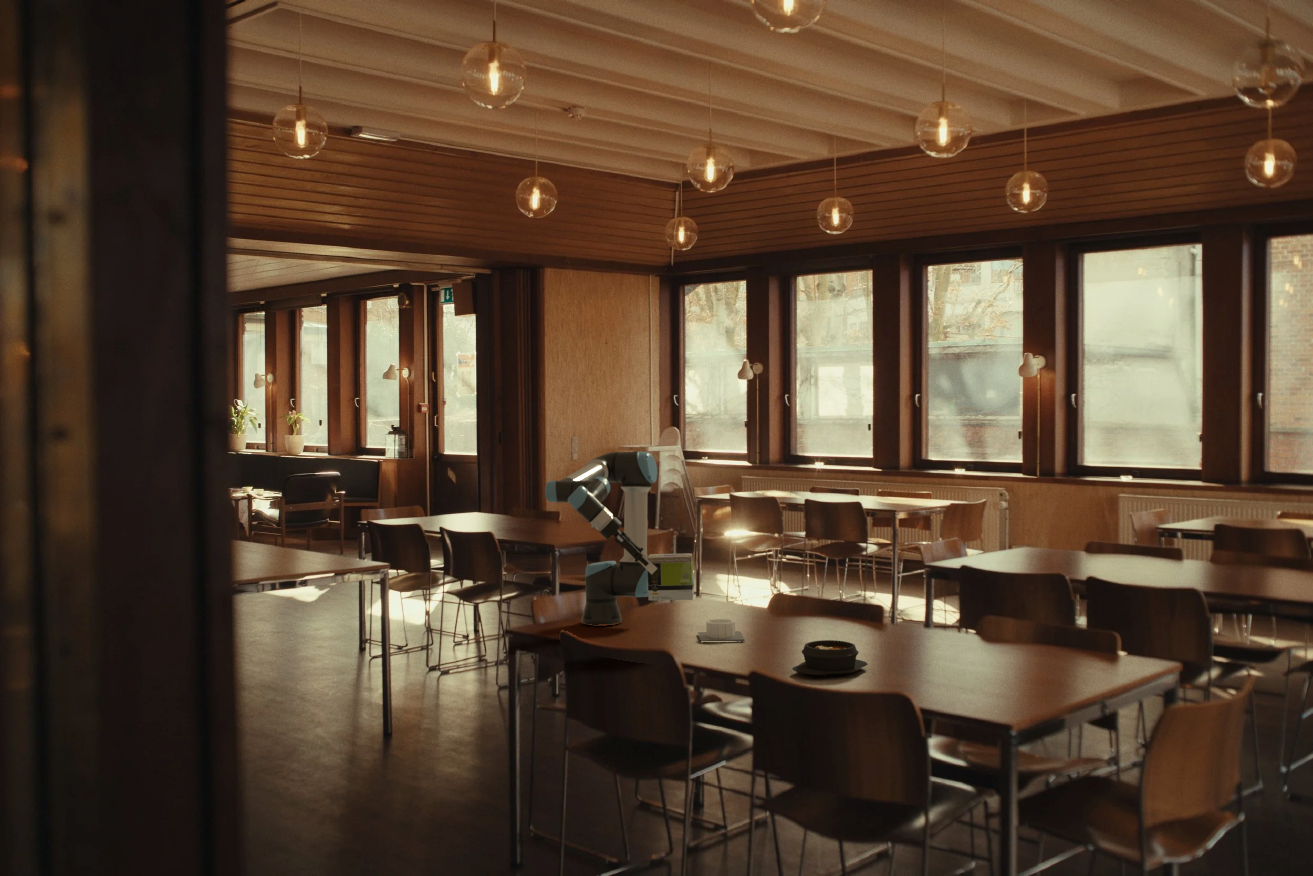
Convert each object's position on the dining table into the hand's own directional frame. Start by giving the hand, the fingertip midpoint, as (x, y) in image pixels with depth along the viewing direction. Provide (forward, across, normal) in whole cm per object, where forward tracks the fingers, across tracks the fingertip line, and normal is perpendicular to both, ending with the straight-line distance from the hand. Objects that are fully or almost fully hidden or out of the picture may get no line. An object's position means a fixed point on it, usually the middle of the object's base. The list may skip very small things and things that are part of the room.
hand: (654, 569), depth 385 cm
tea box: (+11, +1, -3) cm, 12 cm away
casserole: (+55, +45, +18) cm, 73 cm away
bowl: (+35, -11, -2) cm, 37 cm away
